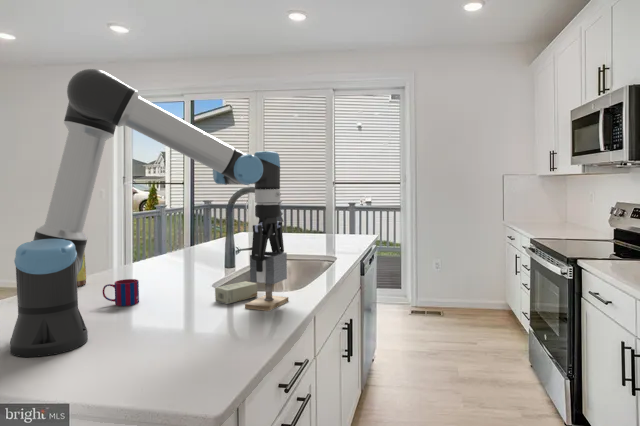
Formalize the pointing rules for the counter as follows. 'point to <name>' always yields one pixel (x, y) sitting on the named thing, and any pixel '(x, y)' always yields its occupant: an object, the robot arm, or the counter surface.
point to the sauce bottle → (82, 274)
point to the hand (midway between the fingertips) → (268, 279)
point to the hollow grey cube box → (271, 267)
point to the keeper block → (267, 300)
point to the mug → (125, 292)
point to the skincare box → (235, 292)
